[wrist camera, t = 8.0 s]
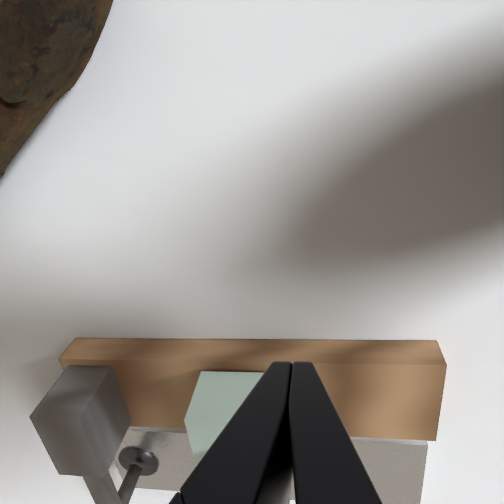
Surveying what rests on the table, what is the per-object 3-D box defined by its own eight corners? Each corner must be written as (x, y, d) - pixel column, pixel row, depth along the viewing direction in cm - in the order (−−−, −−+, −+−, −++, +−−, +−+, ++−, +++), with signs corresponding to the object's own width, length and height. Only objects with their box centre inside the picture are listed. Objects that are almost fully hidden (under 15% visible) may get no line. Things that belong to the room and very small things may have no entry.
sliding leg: (269, 361, 24) (256, 454, 18) (286, 503, 30) (279, 602, 25) (204, 360, 25) (173, 449, 19) (234, 499, 31) (217, 595, 26)
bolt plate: (425, 434, 27) (428, 447, 26) (416, 498, 30) (419, 511, 29) (107, 420, 31) (101, 430, 30) (130, 477, 34) (125, 488, 33)
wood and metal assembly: (436, 340, 23) (472, 429, 18) (417, 494, 30) (438, 591, 24) (75, 338, 27) (17, 409, 22) (128, 473, 34) (94, 554, 28)
